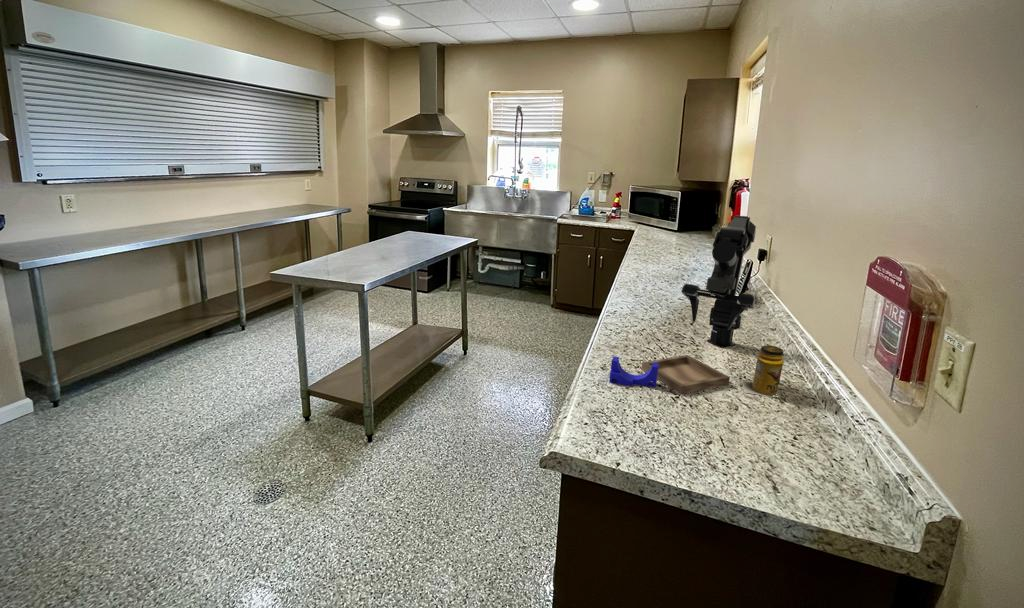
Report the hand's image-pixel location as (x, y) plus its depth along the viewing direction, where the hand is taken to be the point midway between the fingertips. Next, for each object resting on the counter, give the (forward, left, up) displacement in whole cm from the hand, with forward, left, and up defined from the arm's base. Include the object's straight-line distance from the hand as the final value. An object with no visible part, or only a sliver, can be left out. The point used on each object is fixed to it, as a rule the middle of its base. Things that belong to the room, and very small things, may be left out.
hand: (710, 325), depth 139 cm
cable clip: (+24, -1, -14) cm, 28 cm away
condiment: (-6, +15, -14) cm, 21 cm away
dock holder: (+8, +1, -14) cm, 16 cm away
